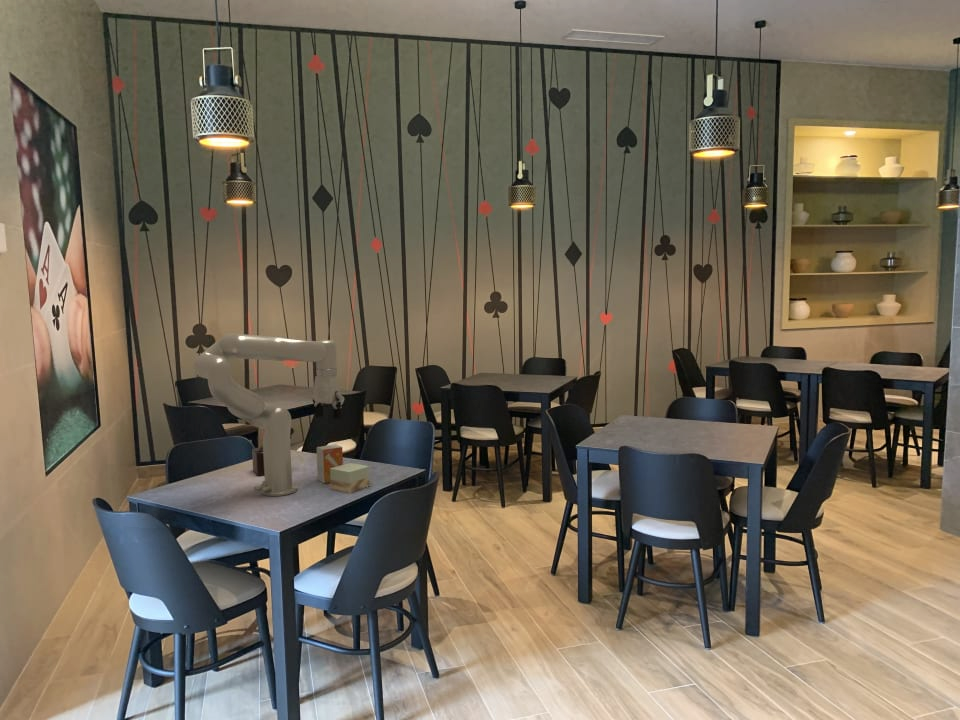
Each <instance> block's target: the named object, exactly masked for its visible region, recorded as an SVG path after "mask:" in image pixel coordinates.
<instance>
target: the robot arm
mask: <svg viewBox="0 0 960 720" xmlns="http://www.w3.org/2000/svg"><path fill="white" fill-rule="evenodd" d="M233 358H234V359H235V358H236V359H243V360H244V359H245V360H260V361H262V360H263V361H273V362H274V361H276V362H281V361H282V362H283V361H286V362H287V361H289V362H290V361H291V362H309V363H310V362H311V363H315V364H316V365H315V366H316V370H315V372H316V376H315V378H314V384H313V385H314V386H313V392H312V393H311V394H310V397H311V400H312V403H313V405H314V406H313V407H315V417H316V418H320V417H323V416H324V406H323V405H324V404H326V405H332V407H333V409H332V420H335V421H337V420H340V419H341V413H342V411H341V409H342V407H343V405H344V402H345V397H344V396H343V395H342V394H341V391H340V382H339V377H338V366H337V365H338V364H337V362H338V360H337V359H338V358H337V343H336V341H335V340H333V339H321V340H318V341H317V340H315V341H314V340H302V339H301V340H299V339H292V338H285V337H280V336H272V335H269V336H268V335H259V334H257V335H256V334H247V333H246V334H245V333H233V332H232V333H227V334H225V335H223V336H222V337H221V338H220V339H218V340H217V341H215V342H214V343H213V344H212V345H211V346H209V347H208V348H207V349H205V350H204V351H203V352H201V353H200V354H199V355H198V356H197V358H195V360H194V362H193V369H194V372H195V374H196V375H197V376H199V378H202V379H204V380H205V379H207V383H208V388H209V392H210V394H211V396H212V397H213V398H214V400H216V401H217V402H219V403H221V404H223V405H224V406H225V407H227V410H228V411H229V412H230V413H231V414H232V415H233V416H235V417H237V418H239V419H241V420H242V421H244V422H246V423H249V424H250V425H252V426H254V427H256V428H258V429H261V430H264V434H263V438H262V445H263V456H264V474H265V476H264V480H263V481H262V483H261V484H260V485H256V486H254V487H253V492H255V493H257V492H260V494H261V495H262V496H267V497H279V496H280V497H281V496H287V495H290V494H293V493H295V492H297V491H298V486H297V485H296V484H294V483H293V473H292V472H293V469H292V454H291V453H292V451H291V439H290V430H291V428H292V416H291V413H290V412H289V410H288V409H286V408H285V407H284V406H281V405H279V404H272V403H270V402H266V401H265V400H264V399H263V397H262V396H260V395H259V394H258V393H256V392H254V391H252V390H250V389H248V388H246V387H244V386H242V385H241V384H240V383H237V382H236V381H235V380H234V379H233V376H232V368H231V364H230V361H232V360H233Z"/></svg>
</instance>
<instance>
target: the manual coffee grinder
mask: <svg viewBox="0 0 960 720" xmlns="http://www.w3.org/2000/svg"><path fill="white" fill-rule="evenodd" d="M294 433H295V429H294V428H293V427H291V430H290V440H292V435H294ZM251 455H252V456H251V457H252V471H253V473H254V474H255V475H256V476H257V477H265V474H264V456H263V444H261V446H259V447H254V448H252V449H251Z"/></svg>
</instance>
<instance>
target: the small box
mask: <svg viewBox="0 0 960 720" xmlns="http://www.w3.org/2000/svg"><path fill="white" fill-rule="evenodd" d="M343 454H344V451H343V446H341V445H339V444H335V443H334V444H330V445H329V444H328V445H324V446H317V447H316V462H317V463H316V467H317V470H316V471H317V481H319V482H320V483H323V484H328V483H330V468H334V467H337V466H341V465H344V461H343V459H344V456H343Z"/></svg>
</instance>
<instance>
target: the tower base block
mask: <svg viewBox="0 0 960 720" xmlns="http://www.w3.org/2000/svg"><path fill="white" fill-rule="evenodd" d="M329 483H330V484H329V485H330V489H331V490H334V491H338V492H344V493H348V494H351V493H355V492H357V491H360V490H363V489H366V488H368V487H367V486H369V487H371V486H370V483H371V481H370V477H368V478H365V479H361V480H358V481H355V482H352V483H347V482H342V481H337V480H332V479H330V482H329ZM365 487H366V488H365ZM362 488H363V489H362Z"/></svg>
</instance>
